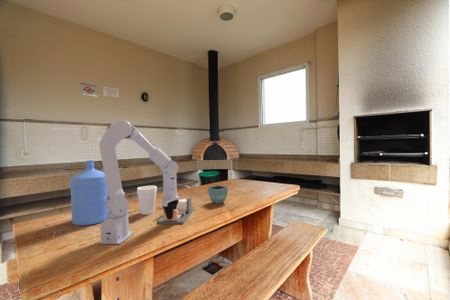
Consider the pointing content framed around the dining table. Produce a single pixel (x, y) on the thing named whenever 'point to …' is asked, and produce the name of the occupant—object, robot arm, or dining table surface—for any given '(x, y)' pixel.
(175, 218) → the pink rectangular block
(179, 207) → the dispenser
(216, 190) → the flower pot
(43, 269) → the dining table surface
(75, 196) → the water jug
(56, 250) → the dining table surface
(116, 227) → the robot arm
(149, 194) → the foam cup
